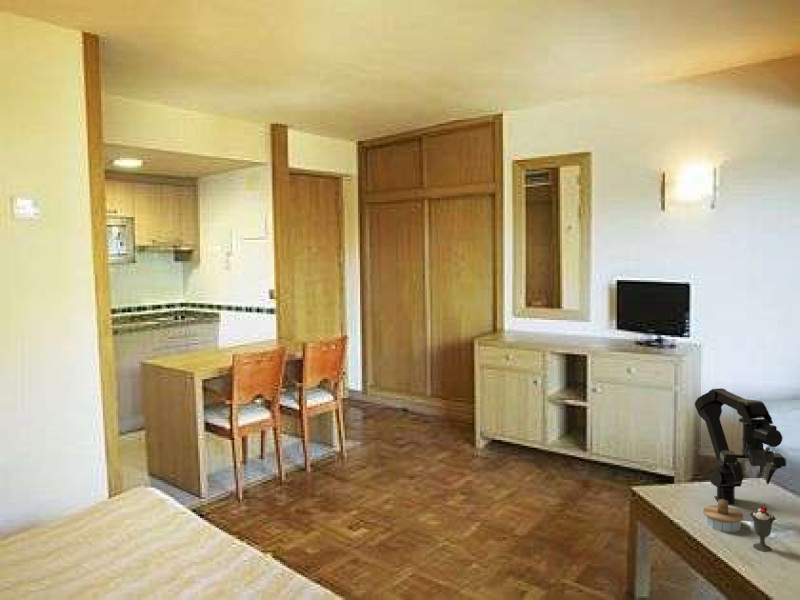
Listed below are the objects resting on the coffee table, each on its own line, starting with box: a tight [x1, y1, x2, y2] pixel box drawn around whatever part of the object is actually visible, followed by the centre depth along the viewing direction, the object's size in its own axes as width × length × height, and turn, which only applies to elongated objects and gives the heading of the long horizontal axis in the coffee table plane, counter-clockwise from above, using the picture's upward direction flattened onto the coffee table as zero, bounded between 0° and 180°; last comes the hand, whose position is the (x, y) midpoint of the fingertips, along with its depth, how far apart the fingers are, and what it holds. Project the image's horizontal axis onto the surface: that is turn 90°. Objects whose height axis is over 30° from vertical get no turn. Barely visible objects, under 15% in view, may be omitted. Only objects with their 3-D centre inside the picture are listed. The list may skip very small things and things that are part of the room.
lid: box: [702, 499, 743, 523], centre depth 193 cm, size 12×12×5 cm
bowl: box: [704, 514, 742, 533], centre depth 194 cm, size 10×10×4 cm
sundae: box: [750, 502, 776, 553], centre depth 179 cm, size 7×7×15 cm
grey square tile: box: [732, 507, 758, 522], centre depth 201 cm, size 10×10×1 cm
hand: (752, 482), depth 199 cm, fingers open, 9 cm apart
